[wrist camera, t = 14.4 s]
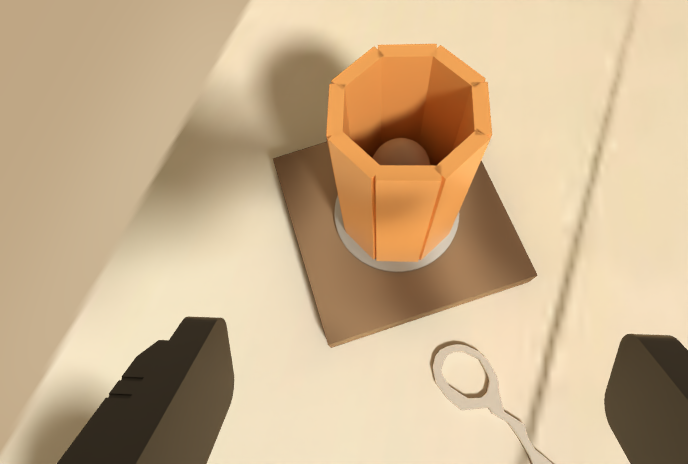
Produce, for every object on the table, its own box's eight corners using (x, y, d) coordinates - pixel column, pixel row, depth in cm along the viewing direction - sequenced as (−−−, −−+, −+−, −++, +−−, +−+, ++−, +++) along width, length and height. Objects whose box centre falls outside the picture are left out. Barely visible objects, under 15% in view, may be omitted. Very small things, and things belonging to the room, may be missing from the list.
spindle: (449, 116, 30) (474, 17, 22) (528, 281, 26) (593, 231, 18) (277, 169, 30) (241, 87, 22) (330, 347, 26) (310, 325, 18)
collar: (447, 166, 27) (484, 43, 18) (451, 262, 25) (495, 181, 16) (347, 165, 28) (331, 45, 18) (343, 260, 25) (323, 180, 16)
